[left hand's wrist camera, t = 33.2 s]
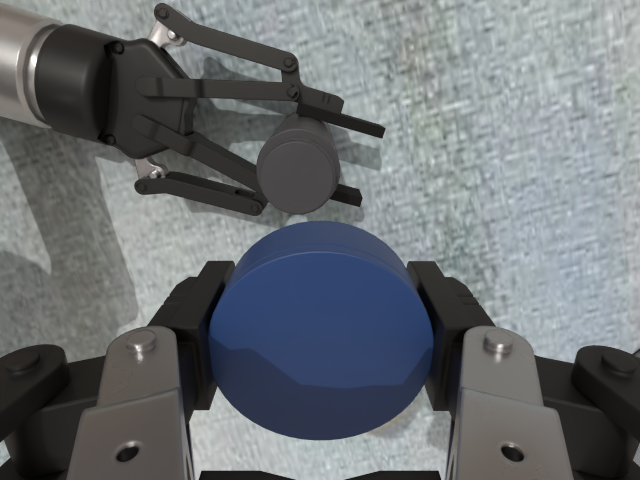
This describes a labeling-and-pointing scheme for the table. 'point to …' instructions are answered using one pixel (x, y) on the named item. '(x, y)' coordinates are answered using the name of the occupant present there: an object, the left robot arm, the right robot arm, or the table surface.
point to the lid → (320, 333)
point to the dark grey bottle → (299, 165)
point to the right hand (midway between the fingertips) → (369, 165)
